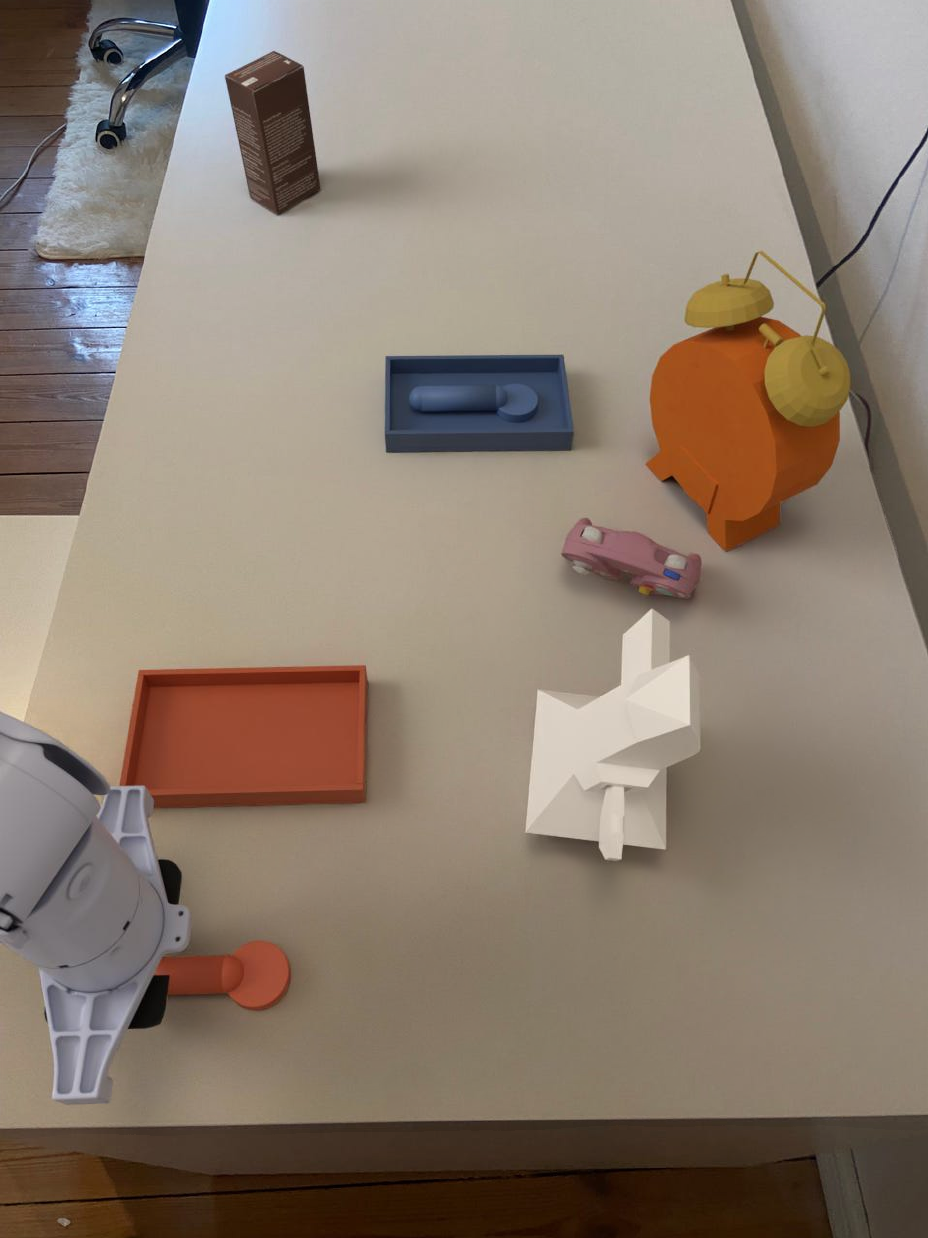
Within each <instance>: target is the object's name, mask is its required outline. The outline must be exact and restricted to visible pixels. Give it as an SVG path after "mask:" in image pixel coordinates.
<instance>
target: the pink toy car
mask: <svg viewBox="0 0 928 1238" xmlns="http://www.w3.org/2000/svg"><path fill="white" fill-rule="evenodd" d="M560 554H561V557H563V558H564V559H566V560H568V561H569V562H571V563H574V566H573V565H572V569H573V570H574V572H575V573H578V574H580V575H589V574H590V573H592V574H595V575H596V576H598V577H602V578H605V579H608V580H614V581H617V580H618V578H619V577H620V574H621V572H626V573H628V574H631V575H632V577H631V580H630V586H632V587H634V588H635V589H637V590H638V592H639V593H640V594H642V595H644V596H648V595H650V594H654V595H664V596H669V597H675V598H679V599H690V598H691V595H692V592H693V591H694V590H695V588H696V587H697V586H698V585H699V583H700V581H701V574H702V573H701V571H702V565H703V564H702V557H701V555H700V554H698V553H695V552H694V553H693V552H692V553H690V554H688V555H685V554H683V553H681V552H678V551H676V550H674V549H671V548H669V547H666V546H663V545H661V544H659V543H657V542H655V540H653V539H652V538H650V537H648V536H647V535H645V534H643V533H640V532H637V531H629V530H614V529H610V528H607V527H603V526H597V525H593V523H592V521H591V520H590V518H587V517H582V518H580V519H579V520H578V521H577V522H576V523H575V524H574V525H573V526H572V527H571V529H570V530H569V531H568V533H567V534H566V537H565V540H564V543H563V546H562V549H561V553H560Z"/></svg>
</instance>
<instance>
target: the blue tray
mask: <svg viewBox="0 0 928 1238" xmlns="http://www.w3.org/2000/svg"><path fill="white" fill-rule="evenodd" d="M384 359H385V361H384V362H385V363H384V365H385V367H384V369H385V372H384V374H385V375H384V376H385V377H384V385H385V386H384V443H385V452H386V453H431V452H433V453H437V452H439V453H440V452H441V453H442V452H510V451H511V452H512V451H513V452H515V451H516V452H521V451H524V452H525V451H527V452H528V451H571V450H572V446H573V441H574V436H575V435H574V434H575V429H574V423H573V422H574V420H573V414H572V408H571V407H572V406H571V399H570V393H569V392H570V391H569V386H568V385H569V384H568V377H567V370H566V363H565V356H564V354H469V355H468V354H465V355H464V354H462V355H456V354H455V355H454V354H453V355H385V357H384ZM508 384H522V385H526V386H528V387H530V388H531V389H533V390H534V391H535V393H536V394H537V396H538V408H537V412H536V414H535V415H534V416H533V417H532V418H531V419H529V420H527V421H523V422H510V421H507V420H504V419H502V418H501V417H500V416H498V415H497V413H496V412H495V411H417V410H415V409H414V408H413V407H412V406H411V405H410V402H409V395H410V393H411V391H412V390H413V389H414V388H416V387H418V386H481V385H497V386H501V387H503V386H505V385H508Z"/></svg>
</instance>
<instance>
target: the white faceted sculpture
mask: <svg viewBox="0 0 928 1238" xmlns="http://www.w3.org/2000/svg"><path fill="white" fill-rule="evenodd" d="M670 626H671V621H670V620H669V619H668V618H666V617H665V616H663V614H661V613H659V612H658V611H657V610H655V609H654V608H651V609H650V610H648V611H647V612H646V613H645V614H644V615H643V616H642V617H640V619H638V621H636V623H634V624H633V625H632V626H631V627H629V629H628V630H627V631H625V632H624V633H623V634H622V644H621V645H622V649H621V674H620V675H621V676H620V677H621V678H620V685H618V686H616V687H614V688H613V689H611V690H609V691H607V692H606V693H605V694H604V693H603V694H602V695H601V696H597V695H591V694H590V695H589V694H582V693H581V694H580V693H571V692H562V691H555V690H546V689H537V694H536V706H535V717H534V728H533V739H532V750H531V763H530V775H529V785H528V798H527V807H526V808H527V810H526V820H525V834H526V833H527V834H534V835H535V834H536V835H543V836H551V837H559V838H569V839H575V840H584V841H590V842H591V841H592V842H593V841H594V842H598V848H599V850H600V853H601V854H602V856H603V858H604V860H607V861H614V862H618V861H620V860H622V855H623V848H624V846H631V847H633V846H634V847H642V848H649V849H658V850H667V768H668V767H671V766H673V765H675V764H677V763H680V762H682V761H684V760H686V759H688V758H691V757H693V756H695V755H696V754H698V752H700V751H701V702H700V701H701V699H700V696H701V695H700V694H701V693H700V674H699V672H698V670H697V668H696V666H695V664H694V661H693V659H692V658H691V655H690V654H688V655H685V656H683V657H680V658H678V659H676V660H675V659H674V660H673V661H671V659H670V658H671V657H670V655H671V653H670V652H671V648H670V647H671V644H670V643H671V627H670Z"/></svg>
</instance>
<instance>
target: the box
mask: <svg viewBox="0 0 928 1238" xmlns="http://www.w3.org/2000/svg"><path fill="white" fill-rule="evenodd" d="M224 80H225V84H226V89H227V94H228V97H229V98H228V99H229V101H230V102H229V103H230V108H231V112H232V117H233V121H234V122H233V123H234V126H235V130H236V136H237V141H238V145H239V150H240V156H241V160H242V165H243V169H244V175H245V179H246V183H247V189H248V193H249V198H250V199H252V200H253V201H254V202H256V203H258V204H259V205H260V206H261V207H263V208H265V209H266V210H269V211H270V212H271V213H273V214H275V215H279V214H280V213H282V212H284V211H285V210H287V209H288V208H289V209H290V207H292V206H294V205H295V204H297V203H299V202H300V201H302V200H304V199H306V198H307V197H309V196H311V195H312V194H314V193H316V192H318V191H320V190H321V183H320V182H321V181H320V176H319V175H320V174H319V168H318V160H317V153H316V146H315V140H314V133H313V132H314V131H313V124H312V117H311V110H310V104H309V96H308V89H307V82H306V81H307V79H306V73H305V66H304V65H303V64H301V63H299V62H297V61H295V60H294V59H291V58H289V57H287V56H286V55H284V54H282V53H279V52H278V51H275V50H272V51H270V52H269V53H266V54H265V55H263V56H260V57H259V58H257V59H254V60H253V61H250V62H249V63H247V64H244V65H243V66H241V67H239V68H236V69H234V70H233V71H231V72H228V73H226V74H224Z"/></svg>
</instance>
